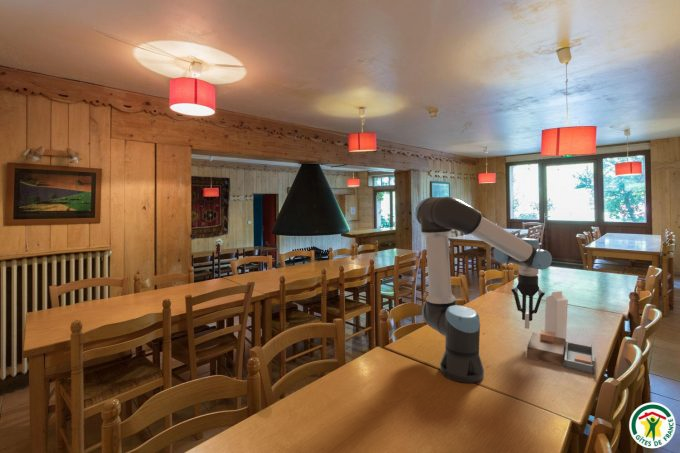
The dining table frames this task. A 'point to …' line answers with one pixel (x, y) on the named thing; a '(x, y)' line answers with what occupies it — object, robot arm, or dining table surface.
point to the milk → (556, 314)
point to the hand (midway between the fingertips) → (527, 327)
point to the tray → (581, 350)
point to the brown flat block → (546, 349)
